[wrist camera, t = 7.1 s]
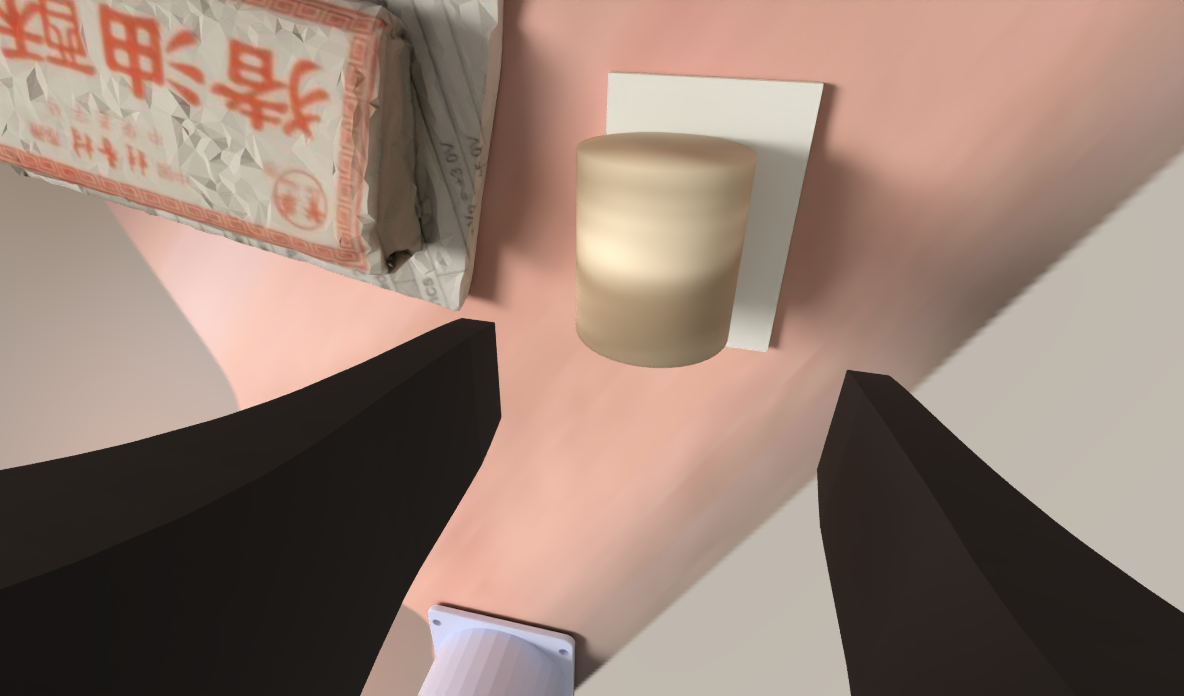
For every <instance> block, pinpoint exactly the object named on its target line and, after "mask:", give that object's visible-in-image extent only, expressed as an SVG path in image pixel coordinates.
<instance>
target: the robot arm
mask: <svg viewBox="0 0 1184 696" xmlns="http://www.w3.org/2000/svg"><path fill="white" fill-rule="evenodd" d="M500 420H501V405H500V390H499V376H498V362H497V347H496V333H495V322H487V321H480V320H472V319H465V318H461V319H458V320H455V321H452V322H450V323H447V324H445V325H442V326H440V327H438V328H436V329H433V330H431V331H429V332H427V333H425V334H423V335H420V336H418V337H416V338H414V339H412V340H410V341H408V342H406V343H403V344H401V345H399V346H397V347H395V348H393V349H391V350H389V351H386V352H384V353H382V354H380V355H378V356H376V357H374V358H372V359H369V360H367V361H365V362H363V363H361V364H359V365H356V366H354V367H352V368H349V369H347V370H345V371H342V372H340V373H338V374H335V375H333V376H330V377H328V378H326V379H323V380H321V381H319V382H316V383H314V384H312V385H309V386H307V387H305V388H302V389H300V390H297V391H295V392H292V393H290V394H287V395H284V396H282V397H279V398H276V399H273V400H271V401H268V402H265V403H262V404H259V405H256V406H253V407H251V408H248V409H245V410H242V411H239V412H236V413H233V414H230V415H227V416H224V417H221V418H217V419H214V420H211V421H207V422H203V423H200V424H196V425H193V426H189V427H185V428H182V429H178V430H175V431H171V432H167V433H164V434H160V435H156V436H153V437H149V438H145V439H142V440H139V441H135V442H131V443H127V444H123V445H119V446H114V447H110V448H105V449H101V450H96V451H92V452H88V453H83V454H79V455H75V456H69V457H65V458H60V459H55V460H50V461H45V462H41V463H35V464H31V465H25V466H20V467H14V468H9V469H4V470H0V696H360V695H361V692H362V689H363V688H364V685H365V683H366V681H367V679H368V676H369V674H370V672H371V670H372V667H373V665H374V662H375V660H376V658H377V656H378V653H379V651H380V649H381V647H382V645H383V642H384V641H385V638H386V636H387V634H388V632H389V630H390V628H391V626H392V623H393V621H394V619H395V617H396V615H397V613H398V611H399V608H400V606H401V604H402V602H403V600H404V598H405V596H406V594H407V592H408V590H409V588H410V586H411V585H412V583H413V581H414V579H415V577H416V575H417V573H418V572H419V570H420V568H421V566H422V565H423V563H424V561H425V560H426V558H427V556H428V555H429V553H430V551H431V550H432V548H433V546H434V545H435V543H436V541H437V540H438V538H439V536H440V535H441V533H442V531H443V530H444V528H445V526H446V525H447V523H448V521H449V520H450V518H451V516H452V515H453V513H454V511H455V510H456V508H457V506H458V505H459V503H460V501H461V500H462V498H463V496H464V494H465V493H466V491H467V489H468V488H469V486H470V484H471V483H472V481H473V479H474V477H475V476H476V474H477V472H478V470H479V469H480V467H481V465H482V463H483V461H484V458H485V456H486V454H487V452H488V449H489V447H490V445H491V442H492V440H493V437H494V435H495V432H496V430H497V427H498V425H499V422H500ZM817 478H818V502H819V517H820V528H821V534H822V540H823V545H824V550H825V556H826V561H827V567H828V572H829V577H830V582H831V587H832V592H833V598H834V602H835V608H836V613H837V618H838V623H839V628H840V634H841V639H842V644H843V649H844V654H845V659H846V665H847V671H848V678H849V684H850V691H851V696H1184V613H1183V612H1181V611H1180V610H1178V609H1177V608H1175V607H1174V606H1172V605H1171V604H1169V603H1168V602H1166V601H1165V600H1163V599H1162V598H1161V597H1159V596H1157V595H1156V594H1155V593H1153V592H1152V591H1150V590H1149V589H1147V588H1146V587H1144V586H1143V585H1141V584H1140V583H1138V582H1137V581H1136V580H1134V579H1133V578H1131V577H1130V576H1129V575H1128V574H1126V573H1125V572H1123V571H1122V570H1121V569H1119V568H1118V567H1116V566H1115V565H1114V564H1112V563H1111V562H1109V561H1108V560H1107V559H1105V558H1103V557H1102V556H1101V555H1100V554H1098V553H1097V552H1095V551H1094V550H1093V549H1091V548H1090V547H1088V546H1087V545H1086V544H1084V543H1083V542H1082V541H1080V540H1079V539H1078V538H1076V537H1075V536H1074V535H1072V534H1071V533H1070V532H1069V531H1067V530H1066V529H1065V528H1063V527H1062V526H1061V525H1059V524H1058V523H1057V522H1055V521H1054V520H1053V519H1052V518H1051V517H1049V516H1048V515H1047V514H1046V513H1045V512H1043V511H1042V510H1041V509H1040V508H1038V507H1037V506H1036V505H1035V504H1033V503H1032V502H1031V501H1030V500H1028V499H1027V498H1026V497H1025V496H1024V495H1022V494H1021V493H1020V492H1019V491H1018V490H1016V489H1015V488H1014V487H1013V486H1011V485H1010V484H1009V483H1008V482H1007V481H1005V479H1003V478H1002V477H1001V476H1000V475H999V474H998V473H996V472H995V471H994V470H993V469H992V468H991V467H989V466H988V465H987V464H986V463H985V462H984V461H982V459H980V458H979V457H978V456H977V455H976V454H975V453H974V452H973V451H972V450H970V449H969V448H968V447H967V446H966V445H965V444H964V443H963V442H962V441H961V440H959V439H958V438H957V437H956V436H955V435H954V434H953V433H952V432H951V431H950V430H949V429H948V428H947V427H945V426H944V425H943V424H942V423H941V422H940V421H939V420H938V419H937V418H936V417H935V416H934V415H932V413H931V412H929V411H928V410H927V409H926V408H925V407H924V406H923V405H922V404H921V403H920V402H919V401H918V400H917V399H916V398H914V397H913V396H912V395H911V394H910V393H909V392H908V391H907V390H906V389H905V388H904V387H903V386H901V385H900V384H899V383H898V382H897V381H895V380H894V379H893V378H892V377H891V376H889V375H882V374H874V373H867V372H859V371H852V370H847V372H846V375H845V379H844V382H843V385H842V388H841V392H840V395H839V398H838V402H837V405H836V408H835V412H834V415H833V418H832V422H831V425H830V428H829V432H828V435H827V438H826V442H825V445H824V448H823V452H822V455H821V458H820V462H819V465H818V468H817ZM428 618H429V623H430V628H431V634H432V639H433V644H434V649H435V654H436V658H435V660H434V662H433V665H432V667H431V669H430V671H429V673H428V675H427V677H426V680H425V681H424V684H423V686H422V688H421V690H420V692H419V694H418V696H574V670H575V641H574V639H573V638H572V637H571V636H569V635H567V634H563V633H558V632H554V631H550V630H545V629H541V628H536V627H532V626H528V625H523V624H519V623H515V622H510V621H506V620H502V619H497V618H493V617H489V616H484V615H480V614H476V613H471V612H467V611H463V610H458V609H454V608H450V607H445V606H441V605H432V606H431V607H430V609H429V611H428Z"/></svg>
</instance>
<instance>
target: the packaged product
mask: <svg viewBox="0 0 1184 696" xmlns="http://www.w3.org/2000/svg"><path fill="white" fill-rule="evenodd" d="M503 7H504V0H0V163H4V164H10V165H11V167H12V168H13V169H14V170H15V171H16V172H17V173H18V174H19V175H22V176H28V177H34V178H40V179H44V180H46V181H48V182H49V183H50V184H57V185H62V186H65V187H68V188H71V189H73V190H76V191H79V192H81V193H84V194H88V195H92V196H95V197H98V198H101V199H105V200H108V201H111V202H114V203H117V204H120V205H123V206H127V207H130V208H134V209H138V210H142V211H144V212H146V213H148V214H150V215H155V216H160V217H163V218H165V219H168V220H171V221H175V222H178V223H182V224H185V225H189V226H191V227H193V228H195V229H197V230H200V231H203V232H207V233H210V234H215V235H221V236H224V237H226V238H229V239H231V240H234V241H237V242H240V243H243V244H246V245H249V246H253V247H257V248H260V249H263V250H266V251H270V252H273V253H276V254H279V255H282V256H284V257H287V258H291V259H295V260H299V261H304V262H308V263H311V264H313V265H316V266H318V267H320V268H323V269H325V270H328V271H331V272H334V273H337V274H340V275H343V276H346V277H349V278H352V279H355V280H359V281H363V282H366V283H369V284H372V285H375V286H378V287H381V288H384V289H388V290H391V291H395V292H398V293H401V294H403V295H406V296H408V297H415V298H419V299H422V300H425V301H428V302H431V303H435V304H437V305H440V306H442V307H444V308H447V309H450V310H453V311H460V309H461V307H462V305H463V303H464V301H465V299H466V297H467V295H468V293H469V290H470V286H471V282H472V276H473V268H474V260H475V253H476V245H477V237H478V229H479V221H480V214H481V202H482V196H483V190H484V183H485V176H486V170H487V163H488V156H489V149H490V142H491V135H492V128H493V121H494V114H495V107H496V100H497V93H498V86H499V79H500V70H501V57H502V37H503Z"/></svg>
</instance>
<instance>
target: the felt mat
mask: <svg viewBox="0 0 1184 696" xmlns="http://www.w3.org/2000/svg"><path fill="white" fill-rule="evenodd" d="M823 86H824V84H823V83H822V82H808V81H788V80H769V79H749V78H730V77H710V76H691V75H671V74H651V73H632V72H612V71H611V72H609V73H608V96H607V124H606V135H608V134H617V133H630V132H670V133H685V134H695V135H703V136H710V137H716V138H721V139H726V140H730V141H734V142H737V143H740V144H743V145H745V146H748V147H750V148H751V149H753V150H754V151H755V152H756V153H757V162H756V168H755V174H754V181H753V187H752V193H751V199H750V206H749V212H748V218H747V224H746V231H745V237H744V243H743V249H742V256H741V262H740V268H739V274H738V280H737V287H736V293H735V299H734V305H733V312H732V318H731V324H730V330H729V337H728V341H727V343H726V345H725V347H732V348H739V349H747V350H755V351H762V352H767V350H768V345H769V341H770V336H771V331H772V326H773V322H774V317H775V312H776V308H777V303H778V298H779V293H780V289H781V284H782V279H783V274H784V270H785V265H786V260H787V256H788V251H789V246H790V241H791V237H792V232H793V227H794V222H795V218H796V213H797V208H798V204H799V199H800V194H801V189H802V185H803V180H804V175H805V171H806V166H807V161H808V156H809V152H810V147H811V142H812V137H813V133H814V128H815V123H816V119H817V114H818V109H819V104H820V100H821V95H822V90H823Z"/></svg>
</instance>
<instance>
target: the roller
mask: <svg viewBox="0 0 1184 696" xmlns="http://www.w3.org/2000/svg"><path fill="white" fill-rule="evenodd" d="M756 162H757V153H756V152H755V151H754V150H753V149H751V148H750V147H748V146H745V145H743V144H740V143H737V142H734V141H730V140H726V139H721V138H716V137H710V136H703V135H695V134H685V133H670V132H630V133H617V134H608V135H602V136H597V137H593V138H590V139H587V140H584V141H582V142H581V143H579V144H578V145H577V185H576V331H577V334H578V336H579V338H580V339H581V341H582V342H583V343H584V344H585V345H586V346H587V347H589V348H590V349H591V350H593V351H594V352H596V353H598V354H600V355H602V356H604V357H606V358H608V359H611V360H614V361H617V362H621V363H624V364H629V365H634V366H640V367H649V368H673V367H682V366H688V365H692V364H696V363H700V362H702V361H705V360H708V359H710V358H711V357H713V356H715V355H716V354H718V353H719V352H720V351H721V350H722V349H723V348H724V347H725V345H726V343H727V341H728V337H729V330H730V324H731V318H732V312H733V305H734V299H735V293H736V287H737V280H738V274H739V268H740V262H741V256H742V249H743V243H744V237H745V231H746V224H747V218H748V212H749V206H750V199H751V193H752V187H753V181H754V174H755V168H756Z"/></svg>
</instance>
